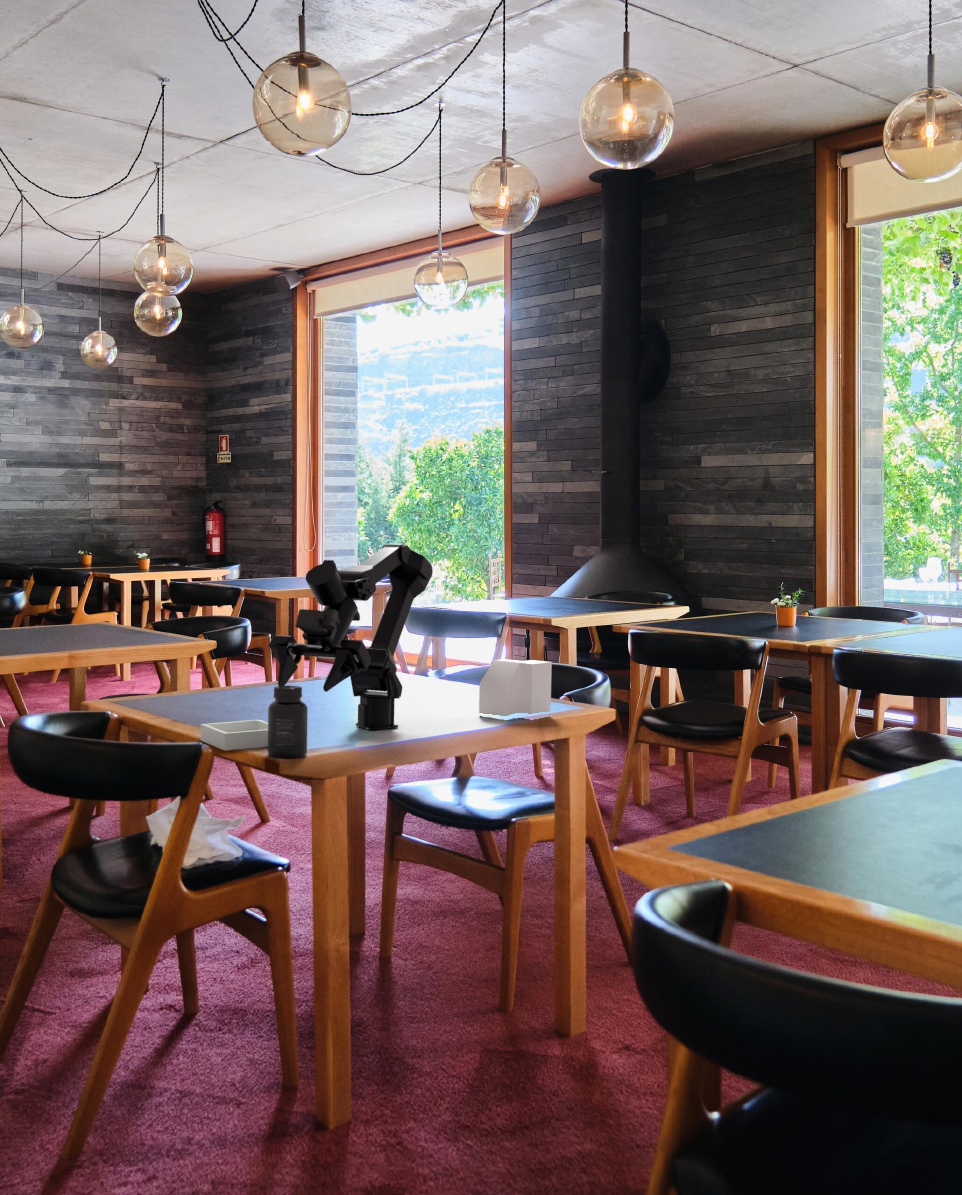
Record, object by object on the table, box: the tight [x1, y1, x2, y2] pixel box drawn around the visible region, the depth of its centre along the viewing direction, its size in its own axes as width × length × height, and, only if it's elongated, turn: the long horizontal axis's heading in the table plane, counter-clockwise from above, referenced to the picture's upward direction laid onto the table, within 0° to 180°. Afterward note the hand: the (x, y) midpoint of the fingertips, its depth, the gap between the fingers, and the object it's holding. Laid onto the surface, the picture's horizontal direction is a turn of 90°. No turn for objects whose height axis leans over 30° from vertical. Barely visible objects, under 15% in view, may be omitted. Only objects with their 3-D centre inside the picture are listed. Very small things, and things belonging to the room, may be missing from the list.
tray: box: [200, 719, 268, 752], centre depth 209 cm, size 12×12×3 cm
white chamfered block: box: [478, 658, 553, 716], centre depth 245 cm, size 11×11×12 cm
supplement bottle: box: [267, 685, 309, 759], centre depth 197 cm, size 7×7×12 cm
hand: (302, 688), depth 201 cm, fingers open, 9 cm apart
